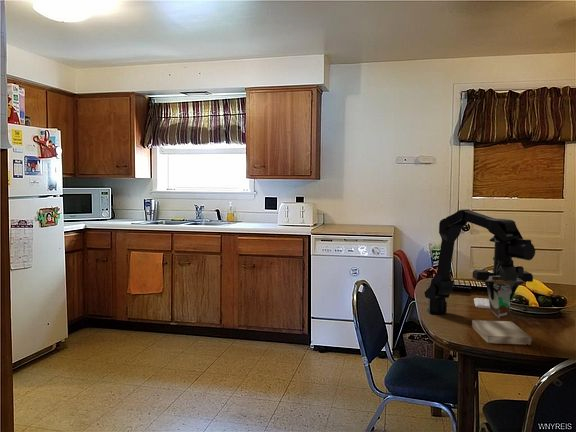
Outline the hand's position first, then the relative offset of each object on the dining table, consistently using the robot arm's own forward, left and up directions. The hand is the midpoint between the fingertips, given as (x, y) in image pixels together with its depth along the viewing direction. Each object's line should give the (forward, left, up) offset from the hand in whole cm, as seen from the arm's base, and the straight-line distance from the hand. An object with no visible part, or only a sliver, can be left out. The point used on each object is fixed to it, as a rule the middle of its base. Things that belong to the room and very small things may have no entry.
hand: (501, 299), depth 166 cm
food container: (+1, 0, -5) cm, 5 cm away
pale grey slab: (0, 0, -13) cm, 13 cm away
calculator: (+14, +42, -13) cm, 46 cm away
